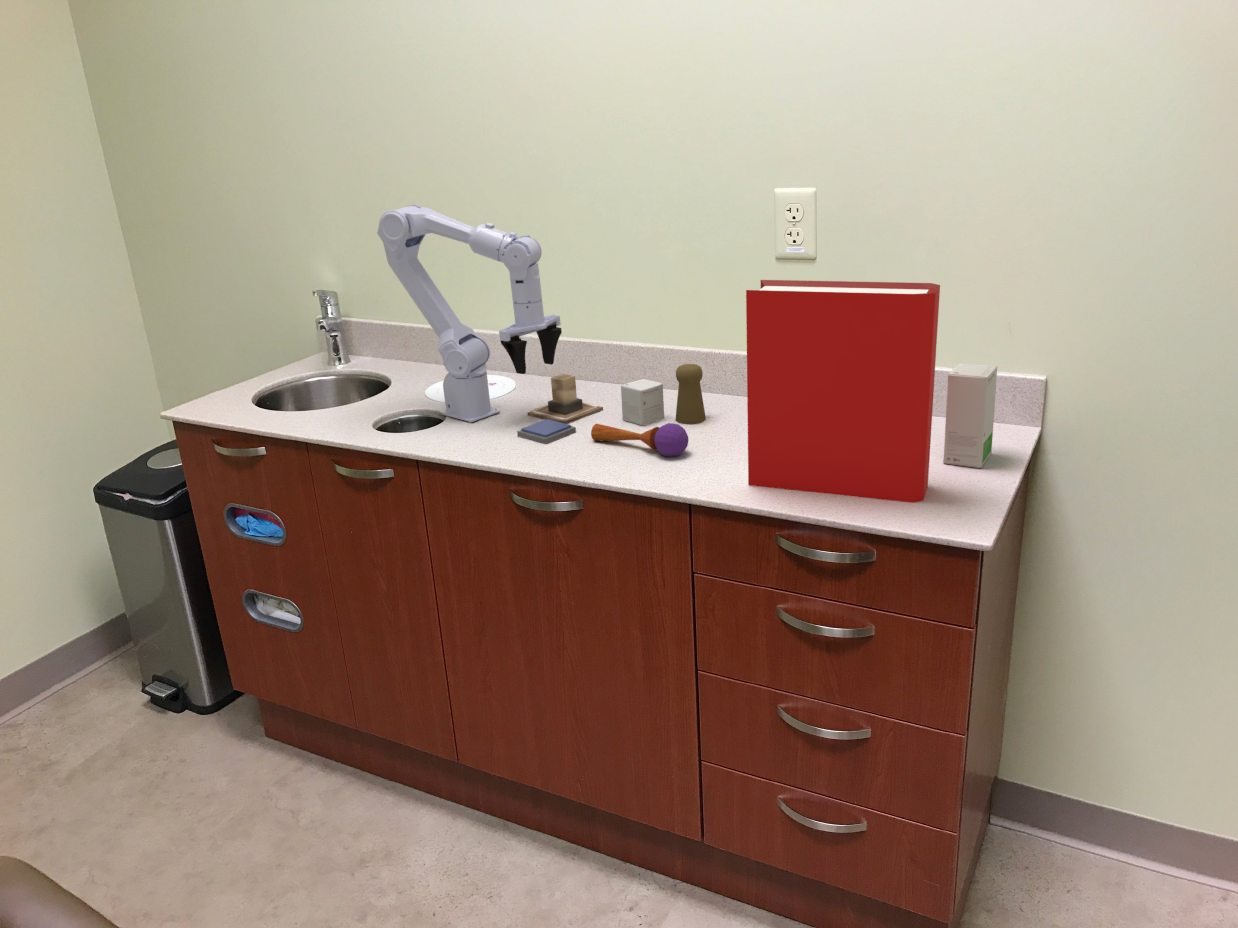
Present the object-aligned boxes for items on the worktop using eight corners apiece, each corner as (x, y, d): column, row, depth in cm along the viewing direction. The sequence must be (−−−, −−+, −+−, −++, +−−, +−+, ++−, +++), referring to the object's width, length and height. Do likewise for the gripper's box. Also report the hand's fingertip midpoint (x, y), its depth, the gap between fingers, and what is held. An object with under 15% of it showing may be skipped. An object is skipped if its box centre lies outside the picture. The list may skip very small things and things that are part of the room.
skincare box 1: (642, 426, 188) (640, 390, 185) (621, 420, 192) (619, 384, 189) (665, 418, 191) (663, 383, 189) (644, 412, 196) (642, 377, 193)
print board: (527, 415, 198) (527, 411, 198) (565, 401, 206) (565, 397, 205) (565, 424, 191) (564, 420, 191) (603, 409, 199) (602, 406, 198)
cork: (704, 424, 186) (702, 369, 182) (673, 424, 188) (671, 369, 184) (707, 414, 192) (706, 361, 188) (677, 414, 193) (675, 361, 189)
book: (748, 485, 157) (746, 290, 146) (761, 467, 164) (760, 279, 152) (922, 503, 146) (934, 294, 135) (928, 484, 153) (941, 283, 142)
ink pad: (517, 436, 186) (516, 428, 186) (547, 424, 192) (546, 417, 191) (546, 444, 181) (545, 436, 181) (576, 432, 187) (575, 424, 186)
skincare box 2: (980, 469, 157) (988, 378, 152) (939, 463, 161) (945, 373, 155) (992, 452, 164) (1000, 364, 158) (952, 447, 167) (958, 360, 162)
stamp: (548, 411, 198) (545, 378, 195) (565, 404, 201) (562, 372, 199) (565, 415, 195) (562, 381, 192) (582, 408, 198) (580, 375, 196)
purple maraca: (606, 415, 183) (694, 422, 171) (606, 446, 184) (694, 455, 172) (586, 418, 179) (675, 426, 167) (586, 450, 180) (675, 460, 168)
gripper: (513, 310, 180) (521, 380, 185) (568, 295, 190) (574, 361, 195) (488, 307, 185) (497, 375, 190) (543, 292, 194) (550, 357, 199)
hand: (535, 368), depth 192 cm, fingers open, 7 cm apart
